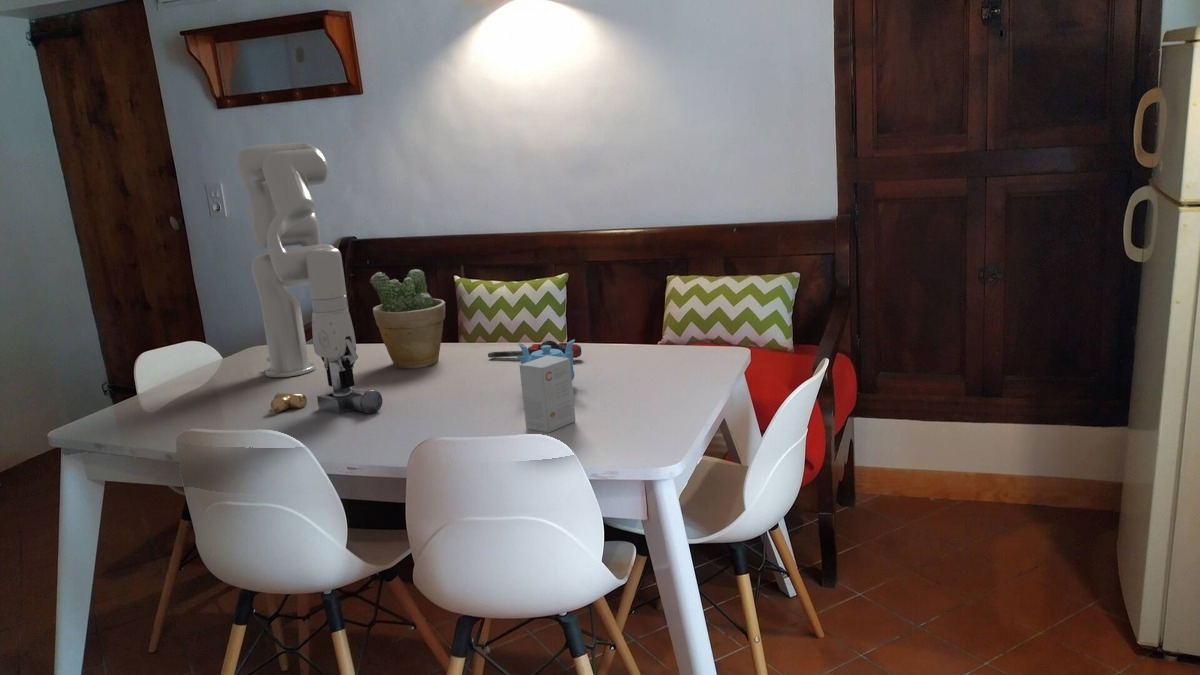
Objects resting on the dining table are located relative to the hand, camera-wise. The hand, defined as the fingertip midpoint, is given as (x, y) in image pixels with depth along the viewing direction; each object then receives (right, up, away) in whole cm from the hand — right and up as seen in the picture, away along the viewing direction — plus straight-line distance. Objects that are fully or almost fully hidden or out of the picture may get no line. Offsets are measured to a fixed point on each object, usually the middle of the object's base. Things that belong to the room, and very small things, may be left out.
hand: (341, 385), depth 207 cm
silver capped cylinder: (0, -3, +1) cm, 3 cm away
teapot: (+46, -1, +2) cm, 46 cm away
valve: (+42, +5, +33) cm, 54 cm away
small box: (+48, -7, -24) cm, 54 cm away
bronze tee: (-13, -6, +3) cm, 15 cm away
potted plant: (+9, +4, +37) cm, 38 cm away
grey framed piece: (+3, -5, -1) cm, 6 cm away
